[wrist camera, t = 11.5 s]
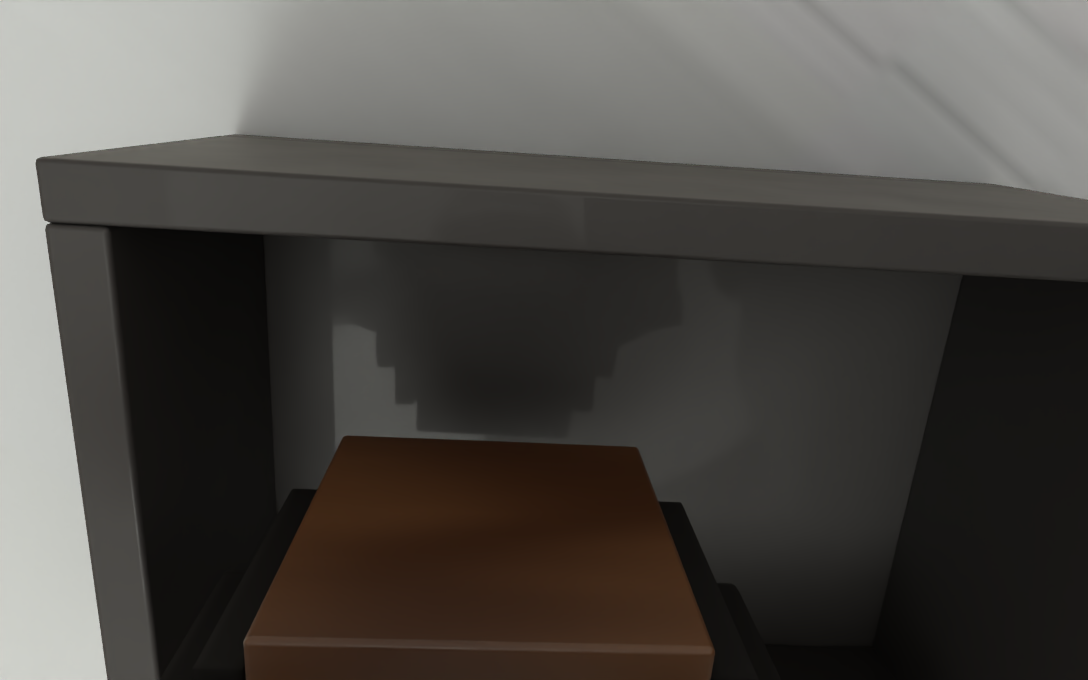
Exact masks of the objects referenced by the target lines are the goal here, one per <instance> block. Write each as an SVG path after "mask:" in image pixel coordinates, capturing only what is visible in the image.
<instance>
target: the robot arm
mask: <svg viewBox="0 0 1088 680" xmlns="http://www.w3.org/2000/svg"><path fill="white" fill-rule="evenodd" d="M316 491H317V489H292V490H291V492H290V493H289V495H288V497H287V499H286V500H285V502H284V504H283V506H282V508H281V509H280V511H279V513H278V515H277V517H276V518H275V520H274V522H273V524H272V526H271V527H270V529H269V531H268V533H267V535H266V537H265V538H264V540H263V542H262V544H261V546H260V547H259V549H258V551H257V553H256V555H255V556H254V558H253V560H252V562H251V564H250V565H249V567H248V569H247V570H228V571H226V572H225V573H224V574H223V576H222V577H221V578H220V580H219V581H218V583H217V585H216V586H215V588H214V590H213V591H212V593H211V595H210V596H209V598H208V600H207V601H206V603H205V605H204V606H203V608H202V610H201V611H200V613H199V615H198V616H197V618H196V620H195V621H194V623H193V625H192V626H191V628H190V630H189V631H188V633H187V635H186V636H185V638H184V640H183V641H182V643H181V645H180V646H179V648H178V650H177V651H176V653H175V655H174V656H173V658H172V660H171V661H170V663H169V665H168V666H167V668H166V670H165V671H164V673H163V675H162V676H161V678H160V680H246V674H245V659H244V645H243V642H244V639H245V637H246V635H247V633H248V631H249V629H250V627H251V625H252V623H253V621H254V619H255V617H256V615H257V612H258V610H259V608H260V606H261V604H262V602H263V600H264V598H265V596H266V594H267V592H268V590H269V588H270V586H271V584H272V582H273V580H274V578H275V576H276V573H277V571H278V569H279V567H280V565H281V563H282V561H283V559H284V557H285V555H286V553H287V551H288V549H289V547H290V545H291V543H292V541H293V539H294V537H295V535H296V532H297V530H298V528H299V526H300V524H301V522H302V520H303V518H304V516H305V514H306V512H307V510H308V508H309V506H310V504H311V502H312V500H313V498H314V496H315V493H316ZM658 502H659V505H660V507H661V510H662V513H663V515H664V518H665V520H666V523H667V526H668V528H669V531H670V534H671V536H672V539H673V541H674V544H675V547H676V549H677V552H678V555H679V557H680V560H681V562H682V565H683V568H684V570H685V573H686V576H687V578H688V581H689V584H690V586H691V589H692V591H693V594H694V597H695V599H696V602H697V605H698V607H699V610H700V612H701V615H702V618H703V620H704V623H705V626H706V628H707V631H708V633H709V636H710V639H711V641H712V644H713V647H714V650H715V656H714V662H713V668H712V674H711V680H781V679H780V677H779V674H778V672H777V670H776V668H775V666H774V664H773V662H772V660H771V658H770V655H769V653H768V651H767V649H766V647H765V645H764V643H763V641H762V639H761V636H760V634H759V632H758V630H757V628H756V626H755V624H754V622H753V620H752V617H751V615H750V613H749V611H748V609H747V607H746V605H745V603H744V601H743V598H742V596H741V594H740V592H739V590H738V589H737V587H736V586H735V585H733V584H731V583H716V580H715V578H714V576H713V573H712V571H711V569H710V566H709V564H708V562H707V560H706V557H705V555H704V553H703V550H702V548H701V546H700V543H699V541H698V539H697V537H696V534H695V532H694V530H693V527H692V525H691V523H690V521H689V518H688V516H687V514H686V511H685V509H684V507H683V505H682V503H681V502H664V501H658Z"/></svg>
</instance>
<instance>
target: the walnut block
mask: <svg viewBox="0 0 1088 680" xmlns="http://www.w3.org/2000/svg"><path fill="white" fill-rule="evenodd" d="M243 645H244V659H245V674H246V680H711V674H712V668H713V662H714V656H715V650H714V647H713V644H712V641H711V639H710V636H709V633H708V631H707V628H706V626H705V623H704V620H703V618H702V615H701V612H700V610H699V607H698V605H697V602H696V599H695V597H694V594H693V591H692V589H691V586H690V584H689V581H688V578H687V576H686V573H685V570H684V568H683V565H682V562H681V560H680V557H679V555H678V552H677V549H676V547H675V544H674V541H673V539H672V536H671V534H670V531H669V528H668V526H667V523H666V520H665V518H664V515H663V513H662V510H661V507H660V505H659V502H658V499H657V497H656V494H655V491H654V489H653V486H652V484H651V481H650V478H649V476H648V473H647V470H646V468H645V465H644V463H643V460H642V457H641V455H640V452H639V449H638V448H636V447H630V446H604V445H579V444H554V443H528V442H503V441H478V440H452V439H427V438H402V437H376V436H351V435H347V436H344V437H343V438H342V440H341V442H340V444H339V446H338V448H337V450H336V452H335V454H334V457H333V459H332V461H331V463H330V465H329V467H328V469H327V471H326V473H325V475H324V477H323V479H322V481H321V483H320V485H319V487H318V489H317V491H316V493H315V496H314V498H313V500H312V502H311V504H310V506H309V508H308V510H307V512H306V514H305V516H304V518H303V520H302V522H301V524H300V526H299V528H298V530H297V532H296V535H295V537H294V539H293V541H292V543H291V545H290V547H289V549H288V551H287V553H286V555H285V557H284V559H283V561H282V563H281V565H280V567H279V569H278V571H277V573H276V576H275V578H274V580H273V582H272V584H271V586H270V588H269V590H268V592H267V594H266V596H265V598H264V600H263V602H262V604H261V606H260V608H259V610H258V612H257V615H256V617H255V619H254V621H253V623H252V625H251V627H250V629H249V631H248V633H247V635H246V637H245V639H244V642H243Z"/></svg>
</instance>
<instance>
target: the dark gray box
mask: <svg viewBox="0 0 1088 680" xmlns="http://www.w3.org/2000/svg"><path fill="white" fill-rule="evenodd" d="M36 169H37V176H38V183H39V191H40V198H41V205H42V212H43V218H44V220H45V221H48V222H50V224H47V225H46V229H45V231H46V238H47V245H48V253H49V260H50V267H51V274H52V282H53V289H54V296H55V303H56V310H57V318H58V325H59V332H60V339H61V347H62V354H63V361H64V368H65V376H66V383H67V390H68V397H69V404H70V412H71V419H72V426H73V433H74V441H75V448H76V455H77V462H78V469H79V477H80V484H81V491H82V498H83V506H84V513H85V520H86V527H87V535H88V542H89V549H90V556H91V563H92V571H93V578H94V585H95V592H96V600H97V607H98V614H99V621H100V629H101V636H102V643H103V650H104V658H105V665H106V672H107V679H108V680H160V678H161V676H162V675H163V673H164V671H165V670H166V668H167V666H168V665H169V663H170V661H171V660H172V658H173V656H174V655H175V653H176V651H177V650H178V648H179V646H180V645H181V643H182V641H183V640H184V638H185V636H186V635H187V633H188V631H189V630H190V628H191V626H192V625H193V623H194V621H195V620H196V618H197V616H198V615H199V613H200V611H201V610H202V608H203V606H204V605H205V603H206V601H207V600H208V598H209V596H210V595H211V593H212V591H213V590H214V588H215V586H216V585H217V583H218V581H219V580H220V578H221V577H222V576H223V574H224V573H225V572H226V571H228V570H247V569H248V567H249V565H250V564H251V562H252V560H253V558H254V556H255V555H256V553H257V551H258V549H259V547H260V546H261V544H262V542H263V540H264V538H265V537H266V535H267V533H268V531H269V529H270V527H271V526H272V524H273V522H274V520H275V518H276V517H277V515H278V513H279V511H280V509H281V508H282V506H283V504H284V502H285V500H286V499H287V497H288V495H289V493H290V492H291V490H292V489H318V487H319V485H320V483H321V481H322V479H323V477H324V475H325V473H326V471H327V469H328V467H329V465H330V463H331V461H332V459H333V457H334V454H335V452H336V450H337V448H338V446H339V444H340V442H341V440H342V438H343V437H344V436H347V435H351V436H376V437H402V438H427V439H452V440H478V441H503V442H528V443H554V444H579V445H604V446H630V447H636V448H638V449H639V452H640V455H641V457H642V460H643V463H644V465H645V468H646V470H647V473H648V476H649V478H650V481H651V484H652V486H653V489H654V491H655V494H656V497H657V499H658V501H664V502H681V503H682V505H683V507H684V509H685V511H686V514H687V516H688V518H689V521H690V523H691V525H692V527H693V530H694V532H695V534H696V537H697V539H698V541H699V543H700V546H701V548H702V550H703V553H704V555H705V557H706V560H707V562H708V564H709V566H710V569H711V571H712V573H713V576H714V578H715V580H716V583H731V584H733V585H735V586H736V587H737V589H738V590H739V592H740V594H741V596H742V598H743V601H744V603H745V605H746V607H747V609H748V611H749V613H750V615H751V617H752V620H753V622H754V624H755V626H756V628H757V630H758V632H759V634H760V636H761V639H762V641H763V643H764V645H765V647H766V649H767V651H768V653H769V655H770V658H771V660H772V662H773V664H774V666H775V668H776V670H777V672H778V674H779V677H780V679H781V680H1088V200H1085V199H1079V198H1073V197H1067V196H1061V195H1055V194H1050V193H1044V192H1038V191H1032V190H1026V189H1020V188H1013V187H1008V186H1002V185H996V184H982V183H967V182H952V181H937V180H921V179H906V178H891V177H876V176H860V175H845V174H830V173H815V172H800V171H784V170H769V169H754V168H739V167H723V166H708V165H693V164H678V163H662V162H647V161H632V160H617V159H602V158H586V157H571V156H556V155H541V154H525V153H510V152H495V151H480V150H465V149H449V148H434V147H419V146H404V145H388V144H373V143H358V142H343V141H327V140H312V139H297V138H282V137H267V136H251V135H236V134H235V135H227V136H217V137H208V138H200V139H191V140H183V141H174V142H166V143H157V144H149V145H140V146H132V147H123V148H115V149H106V150H98V151H89V152H81V153H72V154H64V155H55V156H47V157H41V158H38V159H37V160H36Z"/></svg>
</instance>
